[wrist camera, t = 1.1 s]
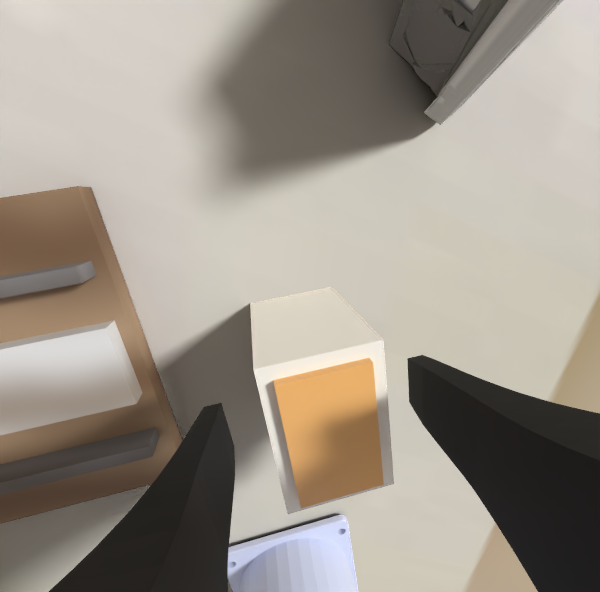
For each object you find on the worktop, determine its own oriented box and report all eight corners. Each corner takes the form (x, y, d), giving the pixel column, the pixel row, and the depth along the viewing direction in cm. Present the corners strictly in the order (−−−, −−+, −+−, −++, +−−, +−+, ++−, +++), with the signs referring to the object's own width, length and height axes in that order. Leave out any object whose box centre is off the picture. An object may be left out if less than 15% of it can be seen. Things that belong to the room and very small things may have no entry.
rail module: (343, 388, 17) (397, 491, 11) (273, 405, 16) (288, 522, 10) (330, 286, 15) (387, 344, 9) (250, 302, 14) (253, 375, 8)
